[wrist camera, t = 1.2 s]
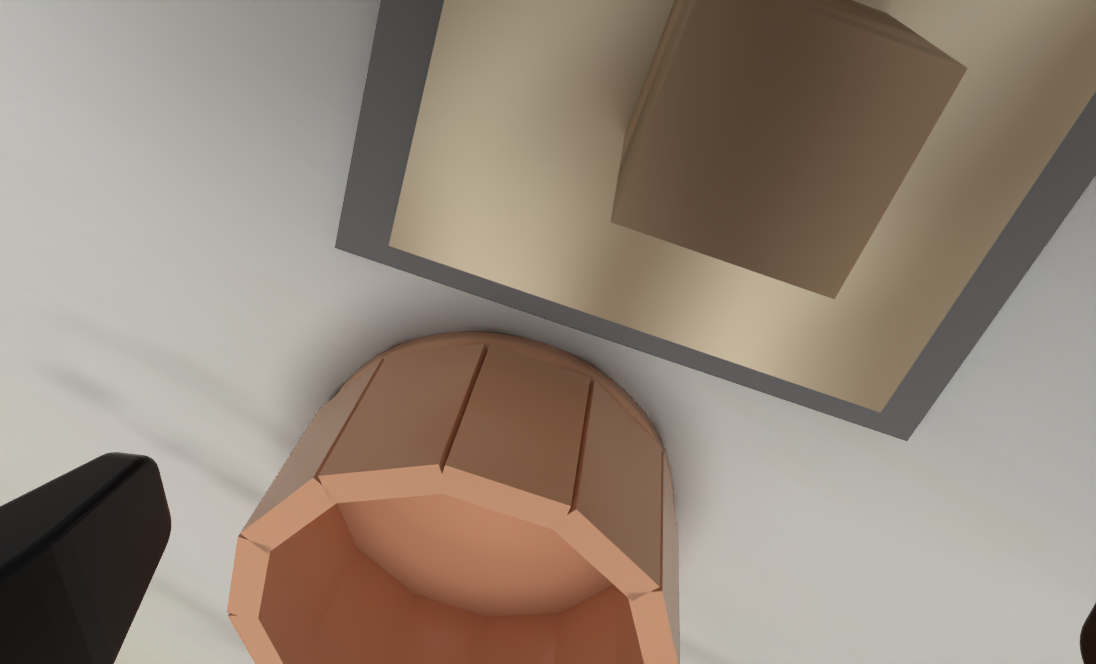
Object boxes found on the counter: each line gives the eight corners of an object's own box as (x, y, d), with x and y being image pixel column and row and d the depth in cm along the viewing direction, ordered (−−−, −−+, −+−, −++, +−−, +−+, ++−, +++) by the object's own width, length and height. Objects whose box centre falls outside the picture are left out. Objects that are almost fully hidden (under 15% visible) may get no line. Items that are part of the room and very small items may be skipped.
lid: (1238, -164, 14) (1538, -178, 9) (873, 394, 21) (936, 559, 16) (549, -426, 14) (483, -587, 9) (397, 232, 21) (311, 351, 16)
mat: (1343, -197, 14) (1359, -199, 14) (903, 431, 22) (907, 440, 22) (486, -527, 14) (482, -537, 13) (340, 241, 21) (335, 247, 21)
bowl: (732, 404, 22) (752, 565, 17) (602, 645, 28) (587, 820, 23) (354, 276, 22) (257, 403, 17) (298, 548, 28) (213, 705, 22)
